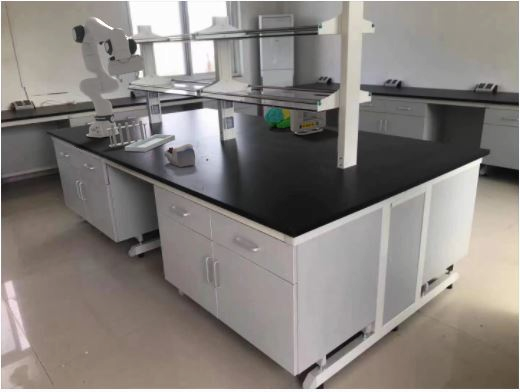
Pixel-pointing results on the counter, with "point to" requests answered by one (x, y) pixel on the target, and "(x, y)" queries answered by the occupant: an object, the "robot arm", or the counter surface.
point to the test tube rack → (127, 133)
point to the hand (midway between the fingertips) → (129, 81)
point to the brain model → (278, 117)
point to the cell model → (181, 155)
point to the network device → (307, 121)
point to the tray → (149, 143)
